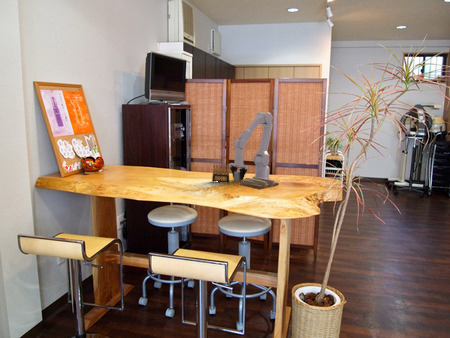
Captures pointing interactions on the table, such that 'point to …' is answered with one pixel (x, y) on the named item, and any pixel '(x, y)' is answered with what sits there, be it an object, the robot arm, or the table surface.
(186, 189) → the table surface
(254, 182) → the notched board
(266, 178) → the robot arm
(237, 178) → the tab block
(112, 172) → the table surface
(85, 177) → the table surface
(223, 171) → the ammunition clip
